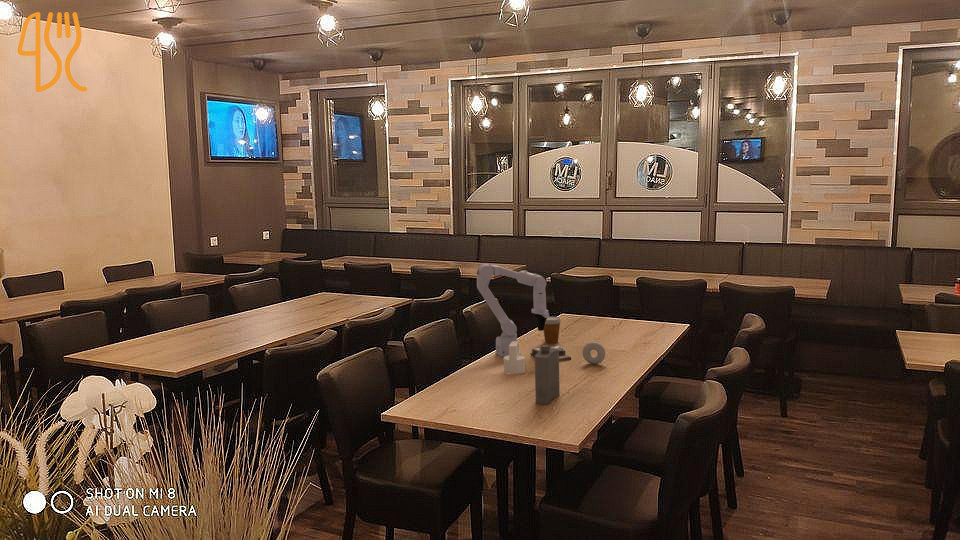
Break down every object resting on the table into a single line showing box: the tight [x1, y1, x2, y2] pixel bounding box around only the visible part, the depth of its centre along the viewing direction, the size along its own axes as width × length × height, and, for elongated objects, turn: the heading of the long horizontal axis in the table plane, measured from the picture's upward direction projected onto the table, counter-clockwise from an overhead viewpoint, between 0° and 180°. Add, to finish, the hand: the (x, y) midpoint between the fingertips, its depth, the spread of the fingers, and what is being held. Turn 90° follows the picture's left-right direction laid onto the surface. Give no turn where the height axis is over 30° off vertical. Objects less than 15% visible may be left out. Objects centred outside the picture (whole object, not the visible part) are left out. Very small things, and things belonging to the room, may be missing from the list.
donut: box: [582, 341, 606, 365], centre depth 314 cm, size 10×4×10 cm, turn 67°
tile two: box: [550, 345, 564, 351], centre depth 330 cm, size 4×4×2 cm
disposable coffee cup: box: [543, 316, 562, 344], centre depth 358 cm, size 10×10×12 cm
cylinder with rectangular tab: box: [503, 340, 526, 375], centre depth 307 cm, size 9×9×12 cm
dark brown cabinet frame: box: [529, 348, 572, 362], centre depth 328 cm, size 13×15×3 cm
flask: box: [534, 344, 561, 406], centre depth 268 cm, size 15×6×20 cm, turn 153°
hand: (540, 330), depth 337 cm, fingers closed
